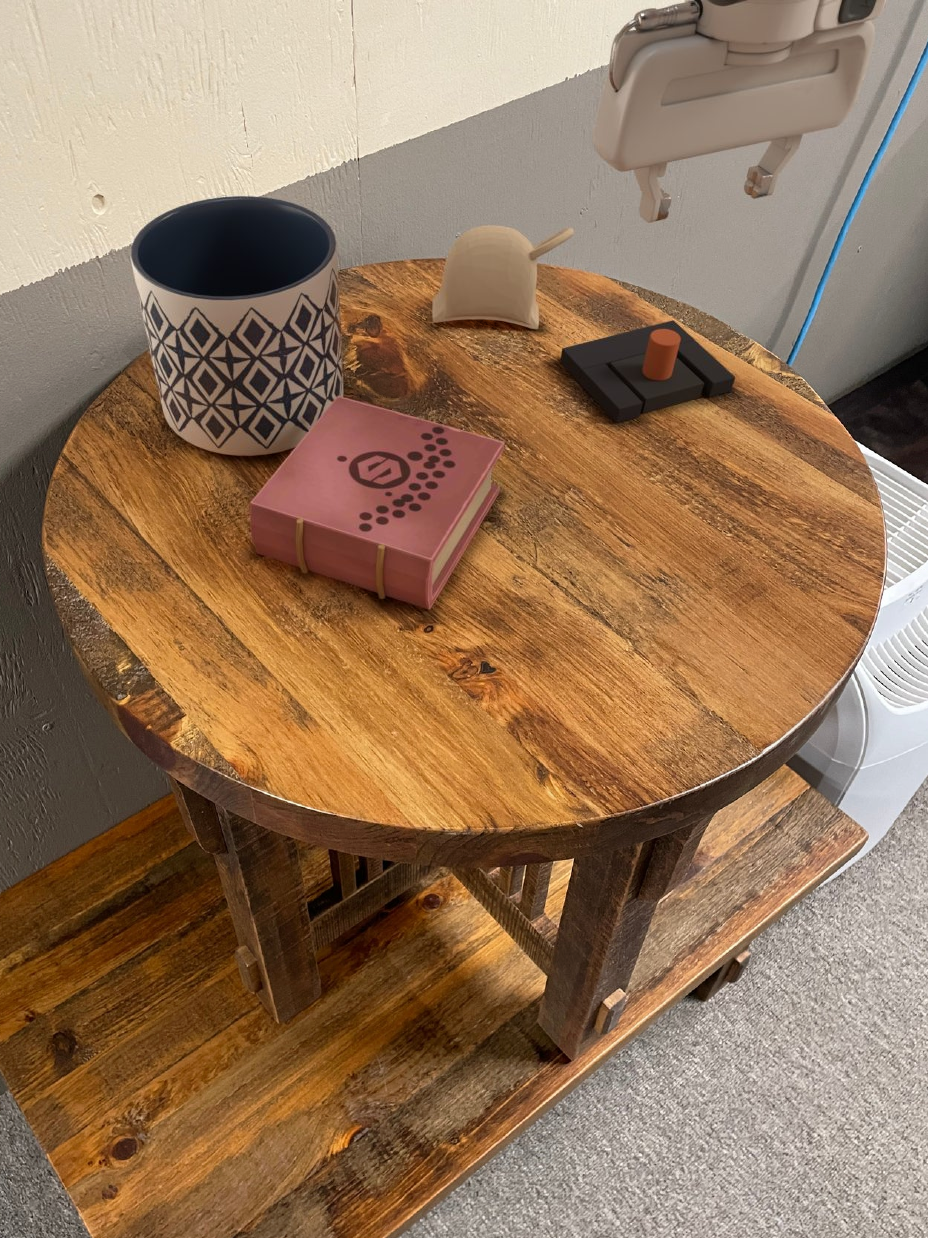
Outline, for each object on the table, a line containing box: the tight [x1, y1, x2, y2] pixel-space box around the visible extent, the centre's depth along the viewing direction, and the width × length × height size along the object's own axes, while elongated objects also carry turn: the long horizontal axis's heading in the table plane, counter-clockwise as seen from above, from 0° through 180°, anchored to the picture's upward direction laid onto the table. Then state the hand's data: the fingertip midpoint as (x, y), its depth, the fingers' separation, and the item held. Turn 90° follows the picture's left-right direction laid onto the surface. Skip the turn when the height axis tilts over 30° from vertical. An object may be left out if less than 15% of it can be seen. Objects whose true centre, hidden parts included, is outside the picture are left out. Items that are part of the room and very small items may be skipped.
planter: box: [130, 195, 344, 457], centre depth 82 cm, size 16×16×14 cm
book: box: [249, 396, 506, 611], centre depth 76 cm, size 14×15×5 cm
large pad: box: [559, 319, 736, 424], centre depth 90 cm, size 12×10×2 cm
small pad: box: [609, 329, 704, 414], centre depth 88 cm, size 6×6×5 cm
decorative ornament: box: [431, 224, 575, 330], centre depth 94 cm, size 6×12×8 cm, turn 84°
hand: (705, 205), depth 76 cm, fingers open, 8 cm apart
